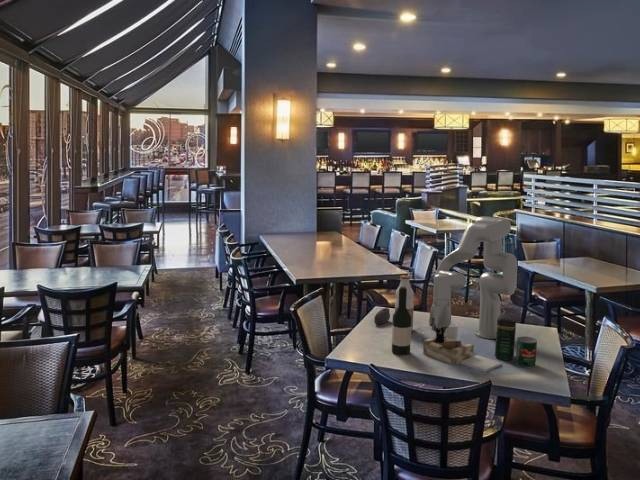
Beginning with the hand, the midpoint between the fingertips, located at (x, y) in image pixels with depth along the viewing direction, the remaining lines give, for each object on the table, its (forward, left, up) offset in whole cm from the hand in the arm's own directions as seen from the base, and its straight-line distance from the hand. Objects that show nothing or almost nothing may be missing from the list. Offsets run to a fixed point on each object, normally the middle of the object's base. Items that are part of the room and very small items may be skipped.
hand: (439, 341), depth 239 cm
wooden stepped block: (0, +5, -5) cm, 7 cm away
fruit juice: (-13, -33, -6) cm, 36 cm away
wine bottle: (+13, -11, -6) cm, 18 cm away
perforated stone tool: (-13, -49, -6) cm, 51 cm away
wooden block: (0, +5, -3) cm, 6 cm away
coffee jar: (-19, +21, -6) cm, 29 cm away
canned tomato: (-18, +31, -6) cm, 37 cm away
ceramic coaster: (-3, +20, -5) cm, 21 cm away
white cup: (-12, -4, -6) cm, 14 cm away
